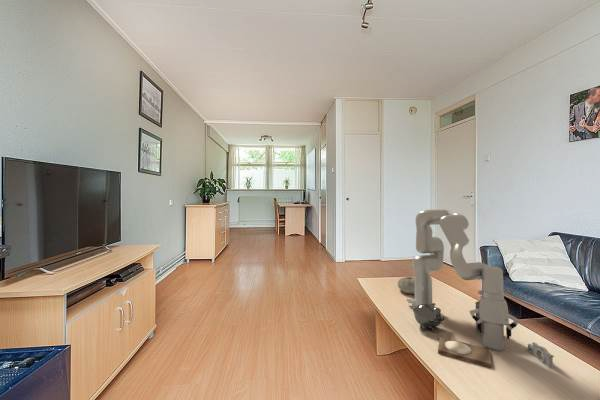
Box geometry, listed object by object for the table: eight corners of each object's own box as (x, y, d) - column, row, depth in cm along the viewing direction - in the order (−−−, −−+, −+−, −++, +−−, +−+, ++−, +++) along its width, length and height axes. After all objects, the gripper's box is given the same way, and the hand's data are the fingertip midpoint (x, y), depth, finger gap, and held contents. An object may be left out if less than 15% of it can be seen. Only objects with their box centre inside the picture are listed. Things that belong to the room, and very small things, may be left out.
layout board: (437, 353, 107) (437, 349, 107) (440, 339, 117) (440, 336, 117) (491, 367, 97) (491, 363, 97) (488, 352, 107) (488, 348, 107)
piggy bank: (448, 334, 122) (448, 310, 122) (415, 331, 125) (415, 308, 125) (440, 323, 133) (439, 301, 133) (409, 321, 136) (409, 299, 136)
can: (508, 352, 107) (507, 324, 107) (488, 350, 108) (487, 322, 108) (498, 342, 114) (497, 316, 114) (479, 341, 116) (479, 314, 116)
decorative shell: (395, 287, 189) (394, 273, 189) (420, 288, 186) (420, 274, 186) (401, 296, 171) (401, 281, 171) (429, 297, 169) (429, 282, 169)
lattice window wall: (526, 350, 108) (526, 336, 108) (531, 351, 108) (531, 337, 108) (549, 368, 97) (548, 353, 97) (554, 369, 96) (554, 353, 96)
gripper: (469, 294, 113) (470, 333, 112) (520, 301, 103) (521, 344, 103) (468, 289, 119) (469, 326, 119) (516, 296, 110) (518, 336, 109)
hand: (493, 334), depth 111 cm, fingers open, 9 cm apart
